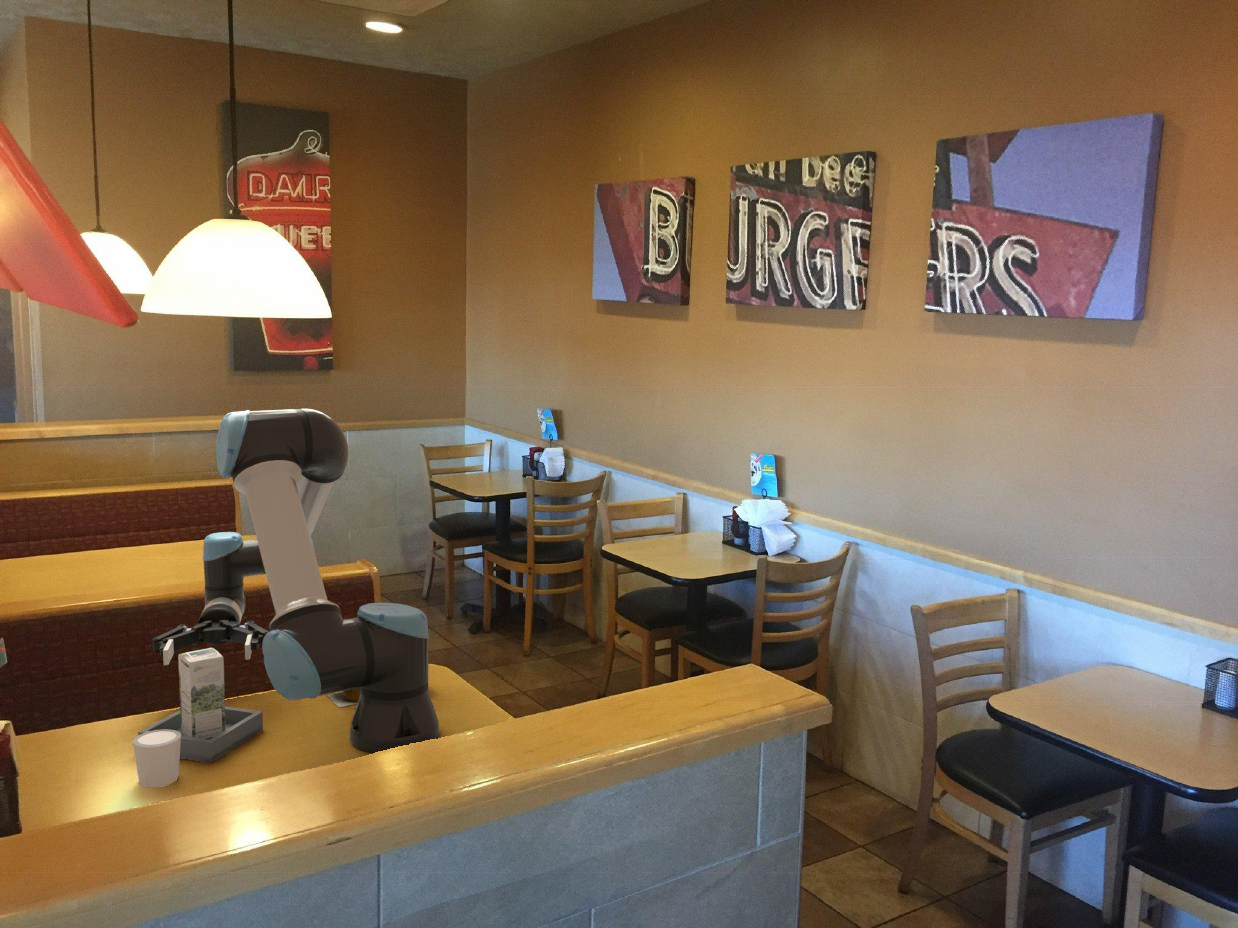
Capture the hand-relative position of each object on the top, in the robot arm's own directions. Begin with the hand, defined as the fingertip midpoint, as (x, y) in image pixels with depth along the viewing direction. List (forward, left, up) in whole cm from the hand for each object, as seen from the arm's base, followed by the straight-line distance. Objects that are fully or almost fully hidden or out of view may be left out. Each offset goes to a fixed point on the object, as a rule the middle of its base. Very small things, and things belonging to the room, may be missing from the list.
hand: (206, 655), depth 180 cm
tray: (-5, +8, -12) cm, 15 cm away
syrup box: (-5, +8, -11) cm, 15 cm away
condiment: (-19, -18, -12) cm, 29 cm away
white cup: (-8, +23, -12) cm, 27 cm away
